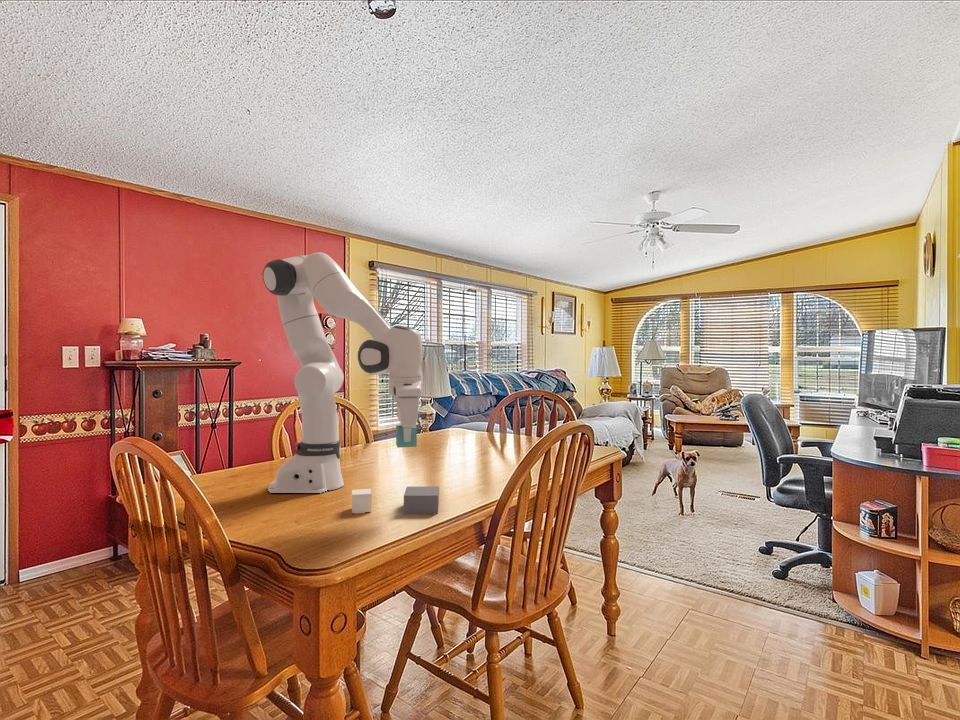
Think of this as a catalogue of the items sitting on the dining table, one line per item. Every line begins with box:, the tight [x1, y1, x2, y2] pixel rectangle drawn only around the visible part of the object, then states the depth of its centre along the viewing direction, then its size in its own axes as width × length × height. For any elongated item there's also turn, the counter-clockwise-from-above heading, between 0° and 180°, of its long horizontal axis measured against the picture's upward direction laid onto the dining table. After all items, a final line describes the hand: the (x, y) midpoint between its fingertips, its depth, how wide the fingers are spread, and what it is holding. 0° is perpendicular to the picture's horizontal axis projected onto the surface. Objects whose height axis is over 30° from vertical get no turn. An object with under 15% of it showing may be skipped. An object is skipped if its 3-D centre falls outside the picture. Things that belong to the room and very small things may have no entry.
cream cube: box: [351, 488, 372, 514], centre depth 143 cm, size 5×5×5 cm
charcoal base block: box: [403, 485, 440, 515], centre depth 145 cm, size 9×9×5 cm
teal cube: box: [395, 424, 418, 449], centre depth 141 cm, size 5×5×5 cm
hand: (406, 439), depth 141 cm, fingers closed on teal cube, 5 cm apart
